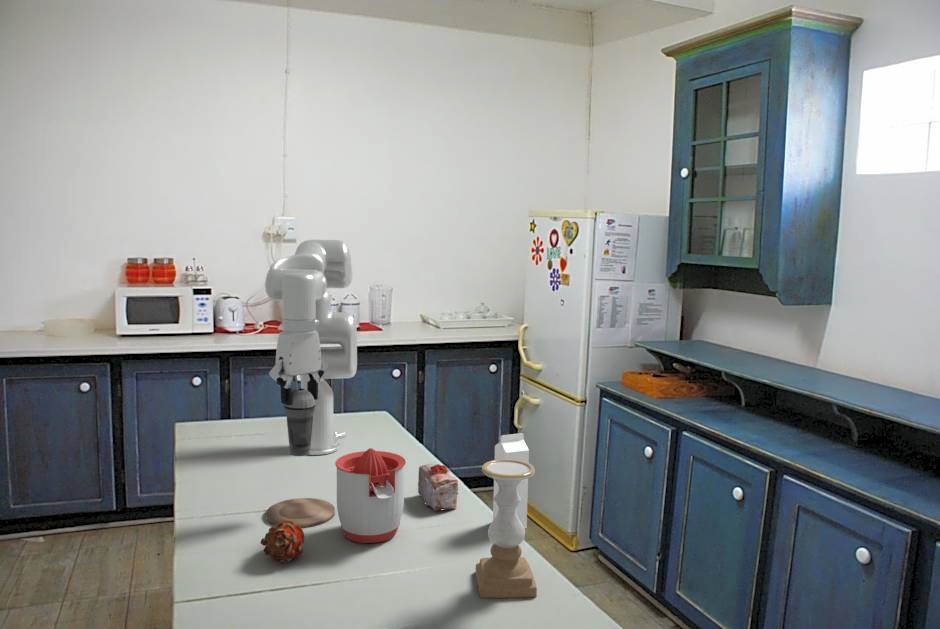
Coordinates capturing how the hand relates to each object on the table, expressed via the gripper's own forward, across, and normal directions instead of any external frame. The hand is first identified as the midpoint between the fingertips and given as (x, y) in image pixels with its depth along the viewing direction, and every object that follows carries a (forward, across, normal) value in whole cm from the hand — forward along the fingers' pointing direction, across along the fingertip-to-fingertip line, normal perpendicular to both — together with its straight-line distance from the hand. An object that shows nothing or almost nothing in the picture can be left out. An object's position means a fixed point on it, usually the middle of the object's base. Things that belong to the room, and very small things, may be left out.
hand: (299, 400), depth 176 cm
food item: (+28, -28, +18) cm, 44 cm away
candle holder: (+28, -7, +57) cm, 64 cm away
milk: (+28, -30, +40) cm, 57 cm away
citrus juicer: (+28, -4, +21) cm, 35 cm away
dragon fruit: (+28, +16, +16) cm, 36 cm away
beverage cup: (+13, 0, 0) cm, 13 cm away
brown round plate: (+28, 0, 0) cm, 28 cm away
